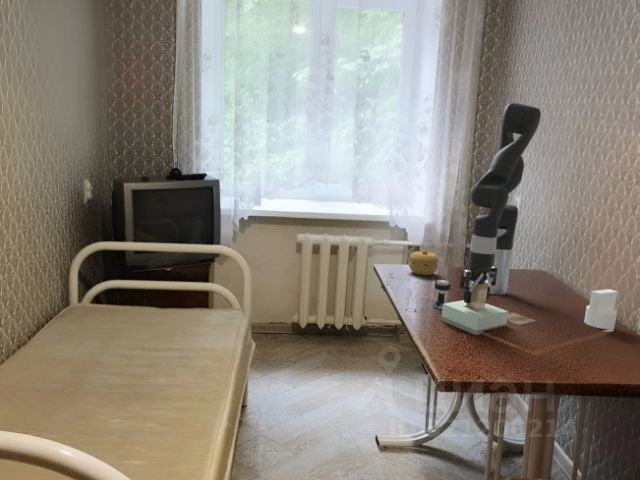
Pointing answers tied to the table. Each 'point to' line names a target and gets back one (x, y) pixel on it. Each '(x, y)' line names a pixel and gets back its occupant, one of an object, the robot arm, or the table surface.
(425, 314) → the table surface
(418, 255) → the pot
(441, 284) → the push button
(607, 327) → the cylinder with rectangular tab
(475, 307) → the pin
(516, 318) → the coaster
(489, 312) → the socket block
